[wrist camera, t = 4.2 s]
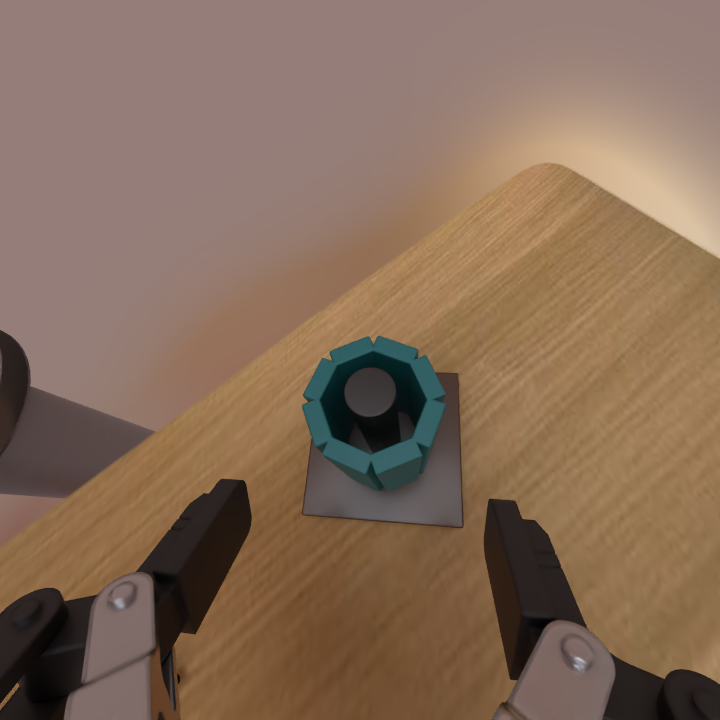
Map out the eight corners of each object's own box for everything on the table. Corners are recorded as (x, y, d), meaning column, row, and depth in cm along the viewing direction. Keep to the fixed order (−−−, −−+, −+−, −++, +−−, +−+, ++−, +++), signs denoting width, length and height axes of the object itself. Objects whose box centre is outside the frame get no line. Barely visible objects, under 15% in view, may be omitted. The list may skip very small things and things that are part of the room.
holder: (305, 515, 22) (233, 509, 13) (323, 374, 25) (276, 292, 16) (461, 528, 21) (502, 531, 12) (456, 378, 24) (485, 291, 15)
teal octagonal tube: (322, 464, 22) (280, 436, 15) (360, 383, 24) (340, 321, 16) (410, 506, 20) (412, 496, 13) (444, 415, 22) (461, 363, 15)
